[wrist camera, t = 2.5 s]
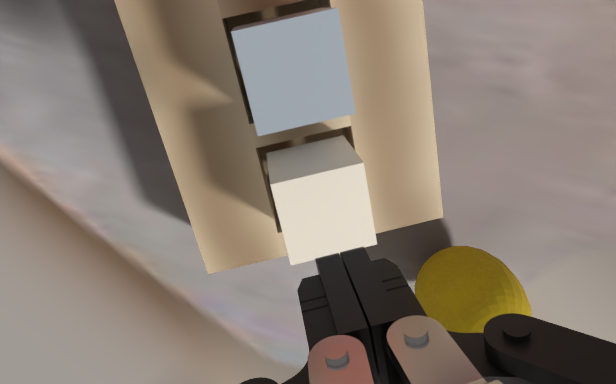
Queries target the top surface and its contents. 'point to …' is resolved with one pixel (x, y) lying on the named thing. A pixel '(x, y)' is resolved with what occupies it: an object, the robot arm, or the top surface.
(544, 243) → the top surface
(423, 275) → the lemon
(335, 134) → the tray
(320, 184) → the ivory key
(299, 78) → the blue key
